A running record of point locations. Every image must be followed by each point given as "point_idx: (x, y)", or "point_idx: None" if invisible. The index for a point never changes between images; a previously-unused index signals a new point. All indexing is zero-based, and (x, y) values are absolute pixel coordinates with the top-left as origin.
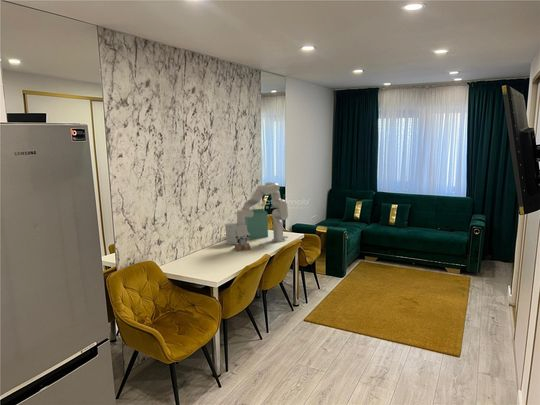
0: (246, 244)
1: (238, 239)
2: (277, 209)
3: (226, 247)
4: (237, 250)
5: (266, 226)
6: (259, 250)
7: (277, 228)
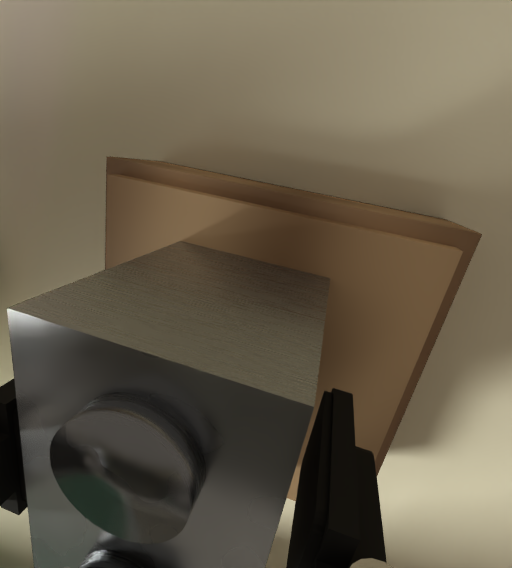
0: None
1: (357, 538)
2: None
3: (472, 563)
4: (444, 221)
5: None
6: (7, 9)
7: None
